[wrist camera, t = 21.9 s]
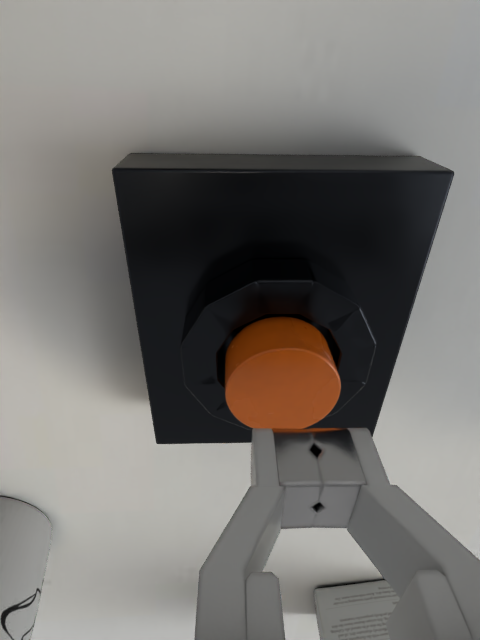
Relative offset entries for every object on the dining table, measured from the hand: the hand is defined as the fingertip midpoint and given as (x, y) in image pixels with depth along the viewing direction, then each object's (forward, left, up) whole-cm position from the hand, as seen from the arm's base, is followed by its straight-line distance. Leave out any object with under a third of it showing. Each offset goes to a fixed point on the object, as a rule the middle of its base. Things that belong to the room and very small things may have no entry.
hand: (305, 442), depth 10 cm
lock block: (0, 0, -7) cm, 7 cm away
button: (0, 0, -4) cm, 4 cm away
